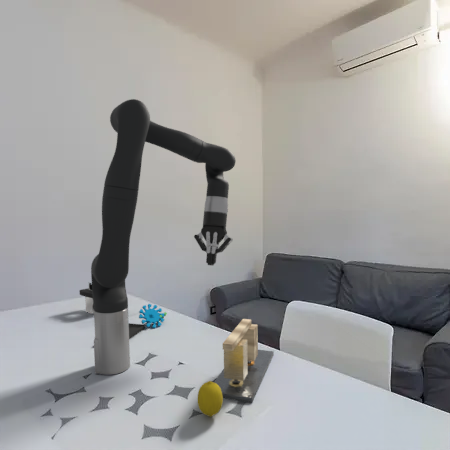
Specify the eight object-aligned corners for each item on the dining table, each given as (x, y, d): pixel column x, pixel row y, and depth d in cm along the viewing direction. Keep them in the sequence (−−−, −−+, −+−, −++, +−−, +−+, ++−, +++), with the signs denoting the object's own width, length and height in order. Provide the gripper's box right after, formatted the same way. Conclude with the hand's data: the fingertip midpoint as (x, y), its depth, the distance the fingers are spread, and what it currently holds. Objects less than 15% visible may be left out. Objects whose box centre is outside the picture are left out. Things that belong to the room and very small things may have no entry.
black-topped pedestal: (55, 313, 157) (53, 282, 156) (112, 301, 174) (111, 273, 173) (80, 330, 136) (79, 295, 135) (143, 314, 154) (142, 283, 153)
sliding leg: (240, 355, 106) (240, 316, 105) (257, 357, 104) (257, 317, 104) (218, 390, 87) (217, 342, 86) (238, 393, 85) (237, 345, 85)
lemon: (197, 409, 83) (197, 375, 83) (222, 408, 84) (221, 374, 83) (197, 424, 78) (197, 388, 77) (223, 423, 78) (223, 387, 78)
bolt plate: (238, 351, 115) (238, 313, 114) (273, 355, 111) (273, 316, 110) (208, 395, 89) (207, 347, 88) (252, 402, 86) (251, 353, 85)
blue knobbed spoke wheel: (142, 327, 132) (137, 303, 138) (137, 335, 136) (132, 311, 142) (170, 325, 138) (164, 302, 144) (164, 333, 142) (159, 310, 148)
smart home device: (93, 343, 120) (126, 322, 139) (93, 348, 120) (126, 327, 139) (116, 345, 117) (145, 324, 137) (116, 350, 118) (145, 328, 137)
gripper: (192, 209, 117) (187, 263, 116) (232, 211, 113) (227, 268, 112) (200, 211, 124) (195, 262, 123) (238, 214, 120) (233, 267, 119)
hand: (210, 265), depth 118 cm, fingers closed
